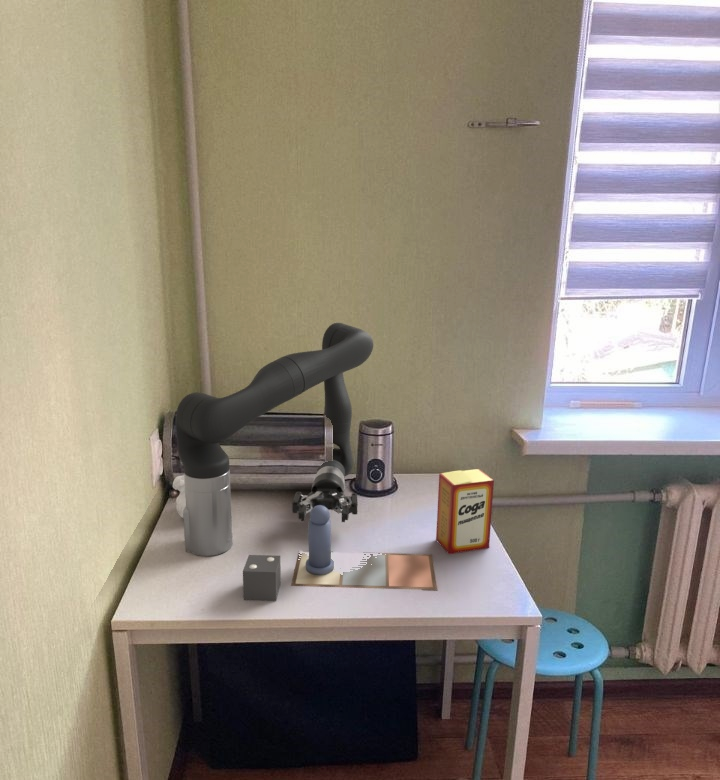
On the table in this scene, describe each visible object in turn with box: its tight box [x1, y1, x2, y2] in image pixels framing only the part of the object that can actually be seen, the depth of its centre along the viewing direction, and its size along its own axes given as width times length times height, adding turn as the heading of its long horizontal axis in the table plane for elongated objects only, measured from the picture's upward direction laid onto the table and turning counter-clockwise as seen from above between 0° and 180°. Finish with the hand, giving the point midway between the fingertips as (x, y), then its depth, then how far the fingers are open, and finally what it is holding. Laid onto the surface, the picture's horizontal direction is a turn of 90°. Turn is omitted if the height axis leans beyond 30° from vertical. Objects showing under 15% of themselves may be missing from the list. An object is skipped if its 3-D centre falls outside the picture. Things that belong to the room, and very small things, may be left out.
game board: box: [290, 552, 438, 591], centre depth 133 cm, size 28×14×1 cm, turn 89°
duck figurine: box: [172, 474, 186, 519], centre depth 154 cm, size 12×8×11 cm
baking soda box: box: [435, 468, 495, 555], centre depth 142 cm, size 10×6×16 cm
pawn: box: [306, 505, 334, 575], centre depth 132 cm, size 6×6×14 cm
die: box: [242, 554, 282, 602], centre depth 124 cm, size 6×6×6 cm
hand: (323, 517), depth 140 cm, fingers open, 8 cm apart
